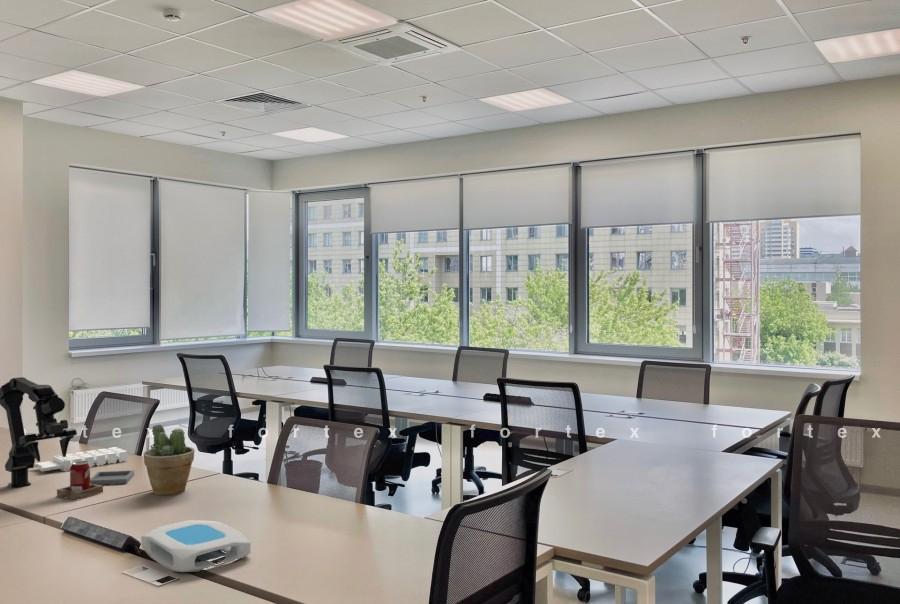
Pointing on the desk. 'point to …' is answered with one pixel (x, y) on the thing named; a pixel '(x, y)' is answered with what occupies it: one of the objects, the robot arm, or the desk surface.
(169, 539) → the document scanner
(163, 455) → the potted plant
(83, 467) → the soda can
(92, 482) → the tray
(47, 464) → the organizer
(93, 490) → the square frame
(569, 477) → the desk surface
